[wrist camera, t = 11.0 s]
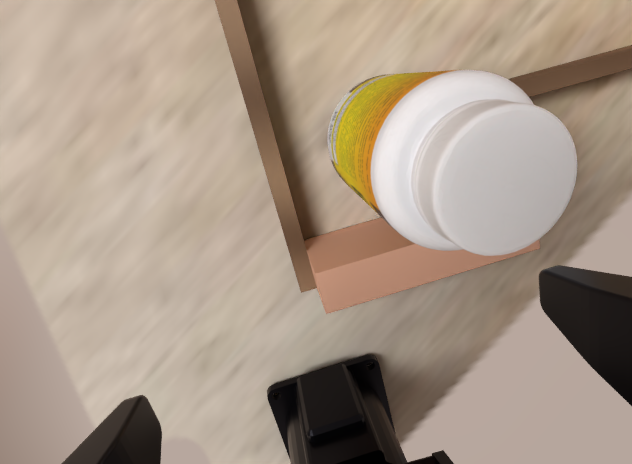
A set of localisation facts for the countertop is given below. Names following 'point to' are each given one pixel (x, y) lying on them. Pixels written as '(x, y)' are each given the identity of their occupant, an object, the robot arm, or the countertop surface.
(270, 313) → the countertop surface
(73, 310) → the countertop surface
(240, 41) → the walnut track
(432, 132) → the supplement bottle
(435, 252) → the stop block
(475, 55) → the countertop surface
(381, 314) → the countertop surface
